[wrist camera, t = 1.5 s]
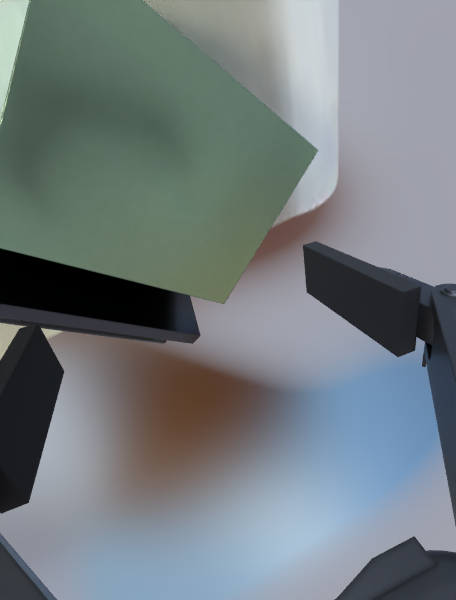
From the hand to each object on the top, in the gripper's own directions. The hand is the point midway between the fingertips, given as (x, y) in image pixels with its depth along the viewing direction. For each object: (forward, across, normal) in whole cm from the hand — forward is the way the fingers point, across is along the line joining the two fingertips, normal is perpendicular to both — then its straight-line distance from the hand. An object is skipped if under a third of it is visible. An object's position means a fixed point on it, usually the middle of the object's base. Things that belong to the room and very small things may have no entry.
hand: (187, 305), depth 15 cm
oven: (+25, 0, +8) cm, 27 cm away
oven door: (+27, -6, +1) cm, 28 cm away
